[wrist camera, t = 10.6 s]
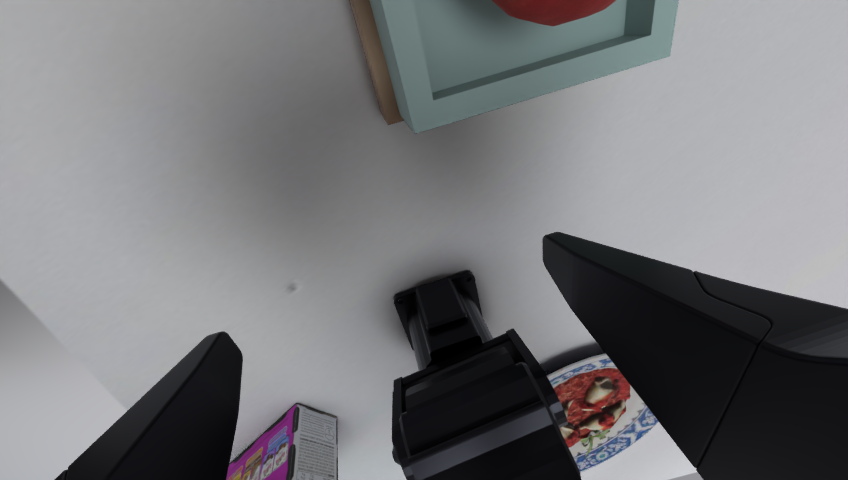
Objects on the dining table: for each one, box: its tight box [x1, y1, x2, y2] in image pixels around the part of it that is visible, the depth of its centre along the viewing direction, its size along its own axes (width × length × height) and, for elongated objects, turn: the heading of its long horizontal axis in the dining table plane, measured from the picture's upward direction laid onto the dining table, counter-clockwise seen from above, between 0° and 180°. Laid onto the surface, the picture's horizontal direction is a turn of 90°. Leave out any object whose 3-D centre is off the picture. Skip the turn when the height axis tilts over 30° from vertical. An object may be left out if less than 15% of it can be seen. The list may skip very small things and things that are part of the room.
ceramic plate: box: [547, 353, 658, 473], centre depth 40 cm, size 26×26×3 cm
